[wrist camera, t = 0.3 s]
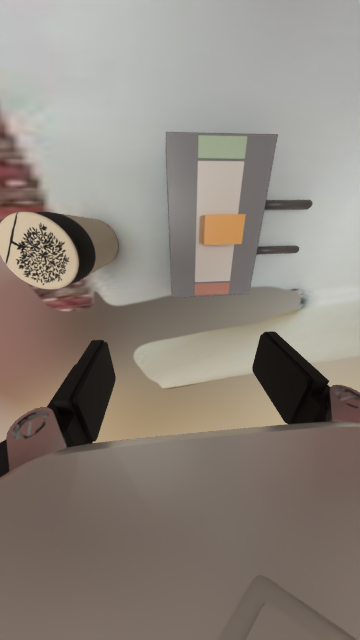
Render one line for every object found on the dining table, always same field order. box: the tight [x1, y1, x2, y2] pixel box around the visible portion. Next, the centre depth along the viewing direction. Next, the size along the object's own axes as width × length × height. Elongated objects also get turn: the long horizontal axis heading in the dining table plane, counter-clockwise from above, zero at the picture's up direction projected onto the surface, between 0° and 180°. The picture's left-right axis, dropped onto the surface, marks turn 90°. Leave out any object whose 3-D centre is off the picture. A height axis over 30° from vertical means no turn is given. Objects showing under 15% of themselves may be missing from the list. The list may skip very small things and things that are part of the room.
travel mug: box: [0, 212, 118, 289], centre depth 26 cm, size 8×8×18 cm
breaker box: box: [166, 132, 312, 297], centre depth 32 cm, size 24×27×5 cm
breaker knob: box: [199, 214, 246, 245], centre depth 27 cm, size 4×6×4 cm, turn 91°
